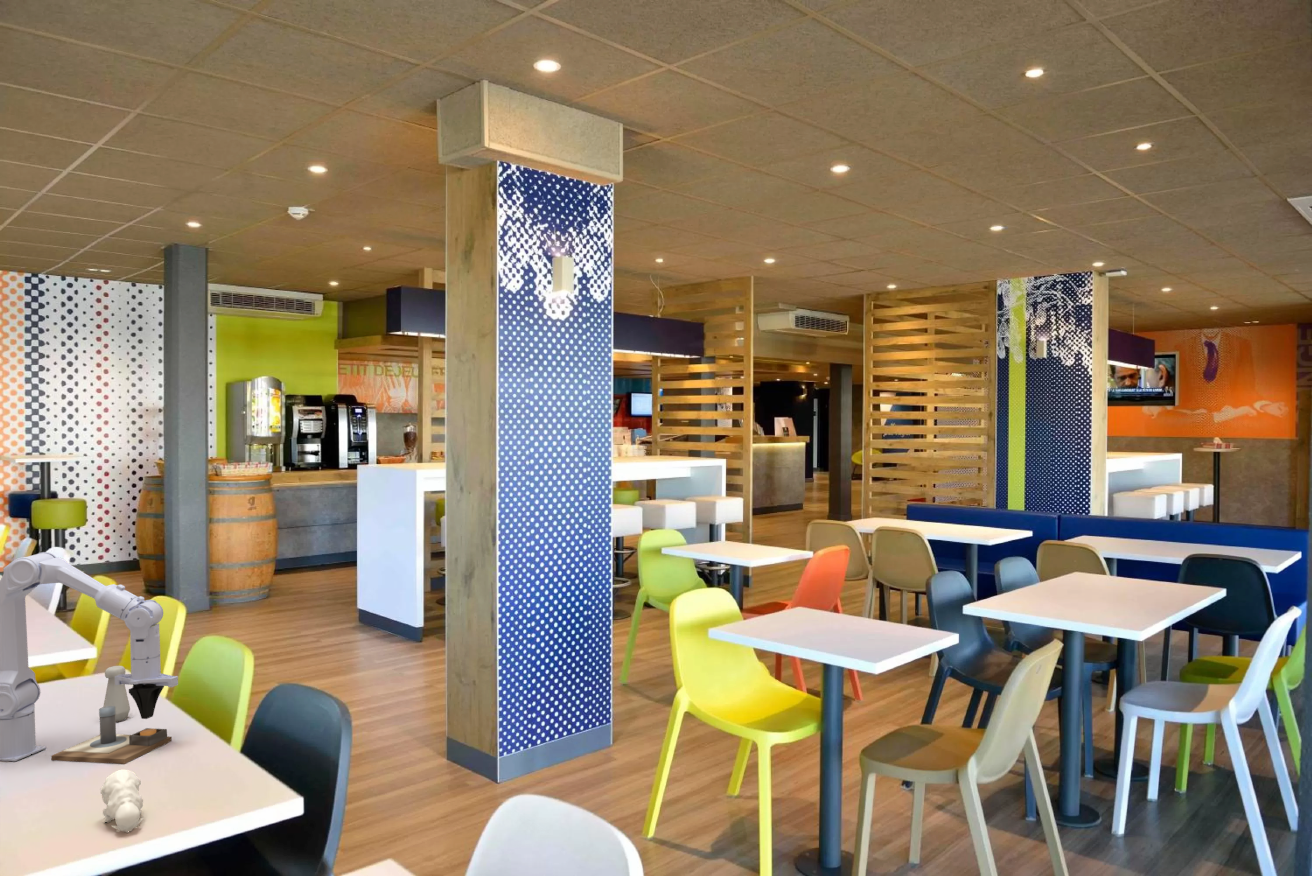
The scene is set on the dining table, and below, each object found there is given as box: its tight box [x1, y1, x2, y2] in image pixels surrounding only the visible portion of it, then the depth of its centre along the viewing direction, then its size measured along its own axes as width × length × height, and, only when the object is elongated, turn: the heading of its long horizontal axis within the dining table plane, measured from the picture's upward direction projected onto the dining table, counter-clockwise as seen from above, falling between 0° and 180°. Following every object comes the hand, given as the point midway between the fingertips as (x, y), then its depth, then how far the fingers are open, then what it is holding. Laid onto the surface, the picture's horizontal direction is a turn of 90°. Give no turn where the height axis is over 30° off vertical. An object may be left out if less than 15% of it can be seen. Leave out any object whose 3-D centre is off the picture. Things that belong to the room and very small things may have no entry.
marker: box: [98, 706, 117, 744], centre depth 202 cm, size 3×3×8 cm
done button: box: [140, 728, 157, 736], centre depth 202 cm, size 3×3×2 cm
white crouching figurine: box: [100, 769, 144, 833], centre depth 161 cm, size 6×8×12 cm
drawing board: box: [50, 727, 173, 765], centre depth 200 cm, size 18×14×3 cm
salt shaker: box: [103, 665, 131, 723], centre depth 221 cm, size 6×6×13 cm
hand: (147, 717), depth 202 cm, fingers closed
